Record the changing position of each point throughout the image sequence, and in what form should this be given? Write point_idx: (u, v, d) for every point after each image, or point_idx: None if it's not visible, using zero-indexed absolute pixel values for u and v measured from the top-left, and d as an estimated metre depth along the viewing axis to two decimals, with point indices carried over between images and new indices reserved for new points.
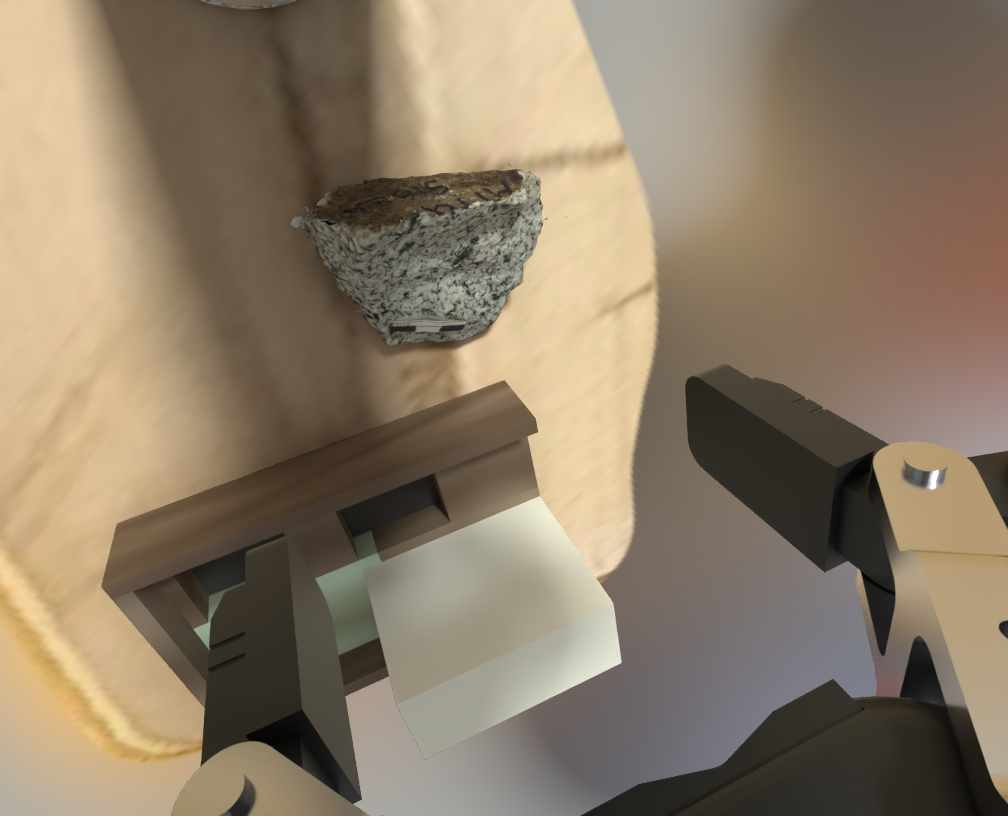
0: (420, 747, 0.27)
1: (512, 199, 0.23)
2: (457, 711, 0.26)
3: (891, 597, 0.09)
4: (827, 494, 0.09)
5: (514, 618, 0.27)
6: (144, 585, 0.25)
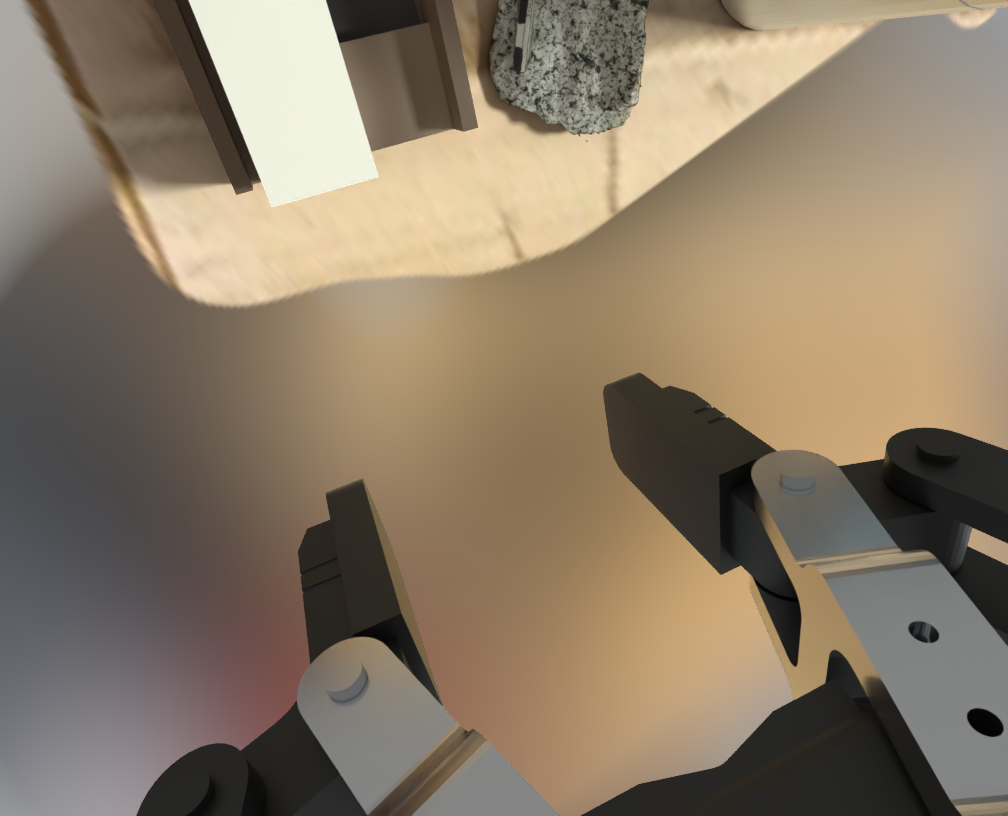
0: None
1: (635, 90, 0.34)
2: None
3: (787, 603, 0.09)
4: (715, 500, 0.10)
5: None
6: None
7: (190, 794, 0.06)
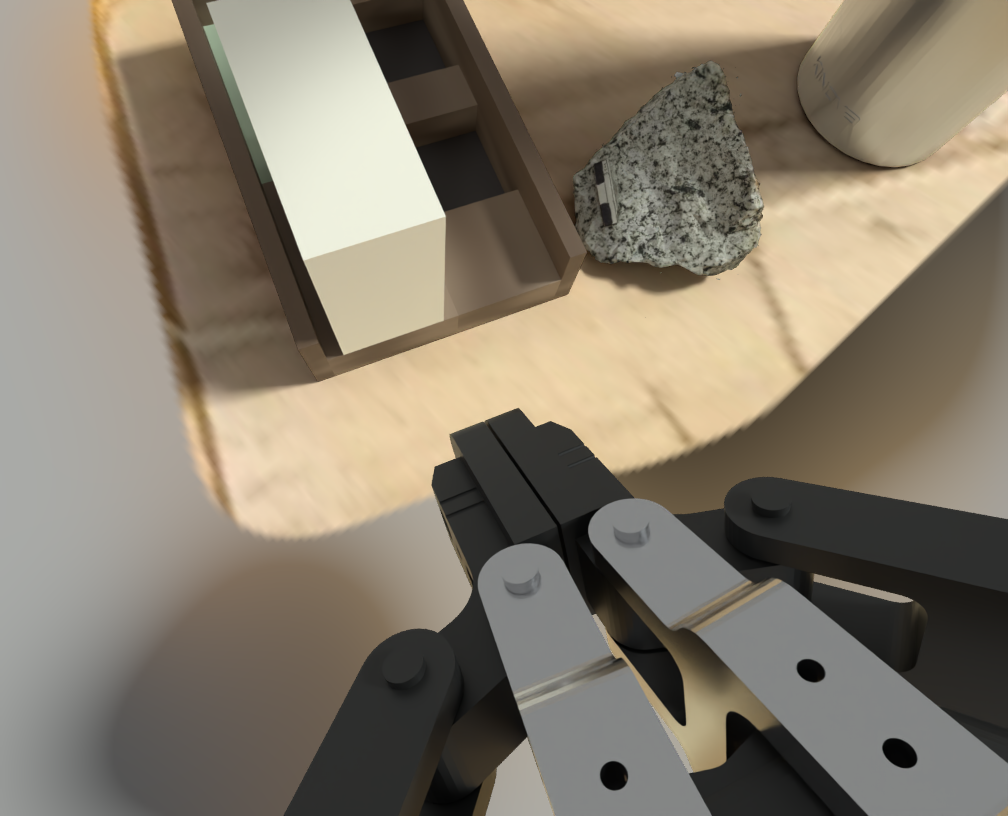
0: None
1: (754, 192, 0.27)
2: (293, 36, 0.20)
3: (652, 656, 0.09)
4: (564, 548, 0.09)
5: None
6: None
7: (406, 666, 0.07)
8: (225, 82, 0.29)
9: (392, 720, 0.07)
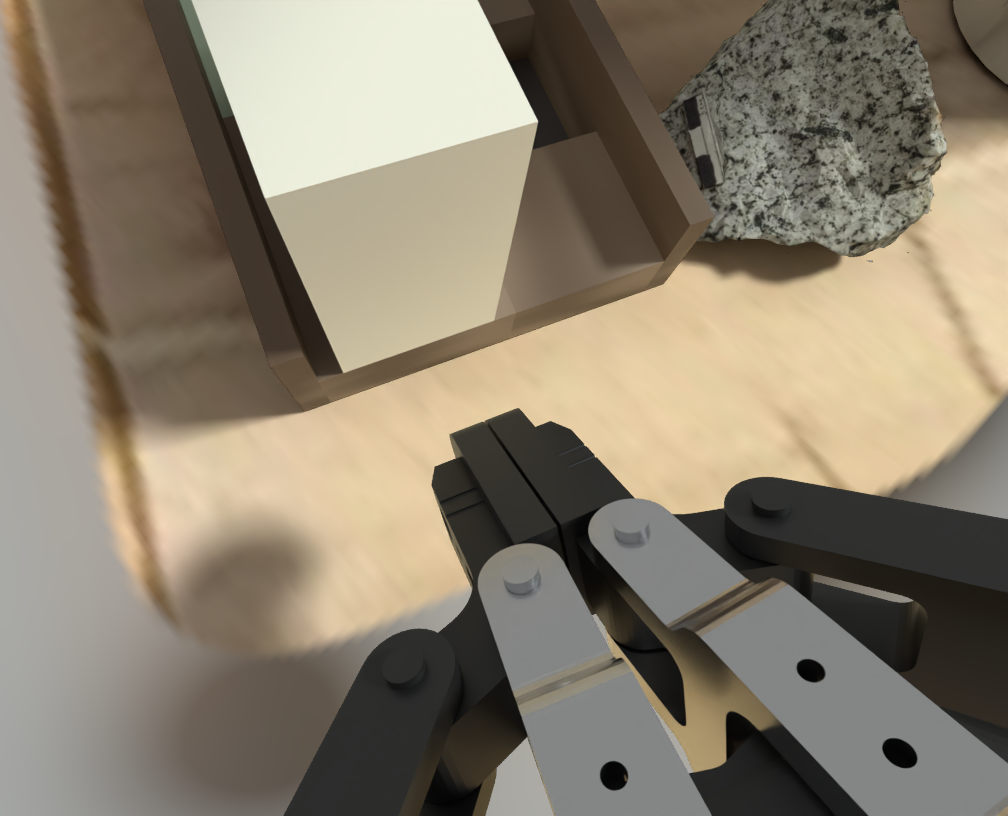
0: None
1: (935, 129, 0.19)
2: None
3: (652, 655, 0.09)
4: (564, 548, 0.09)
5: None
6: None
7: (405, 667, 0.07)
8: None
9: (392, 720, 0.07)
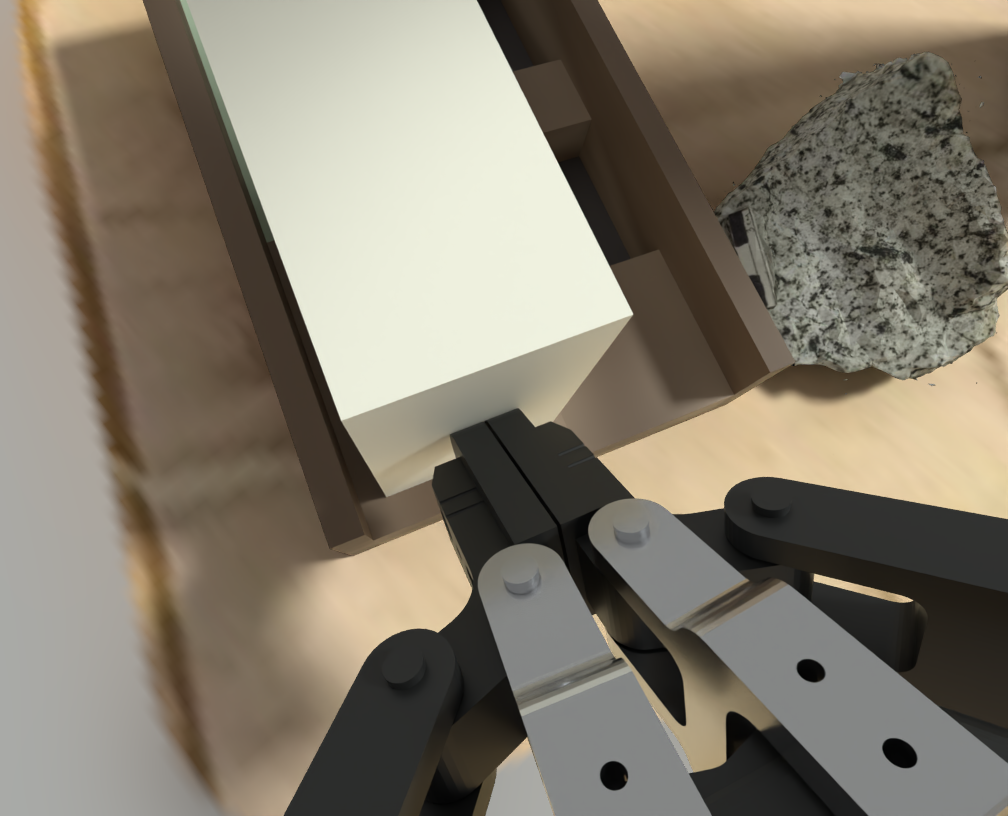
0: None
1: (1005, 256, 0.17)
2: None
3: (652, 655, 0.09)
4: (564, 547, 0.09)
5: None
6: None
7: (406, 666, 0.07)
8: (211, 83, 0.19)
9: (392, 720, 0.07)
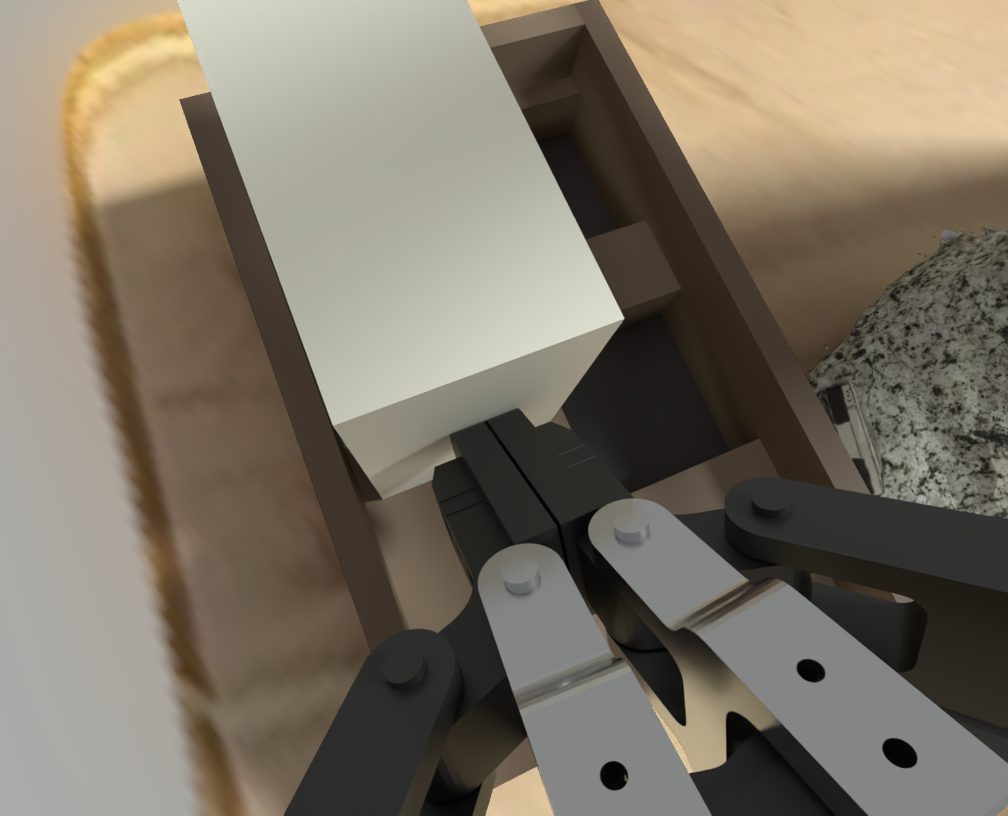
0: None
1: None
2: None
3: (652, 655, 0.09)
4: (564, 547, 0.09)
5: None
6: (593, 36, 0.18)
7: (406, 667, 0.07)
8: None
9: (392, 720, 0.07)
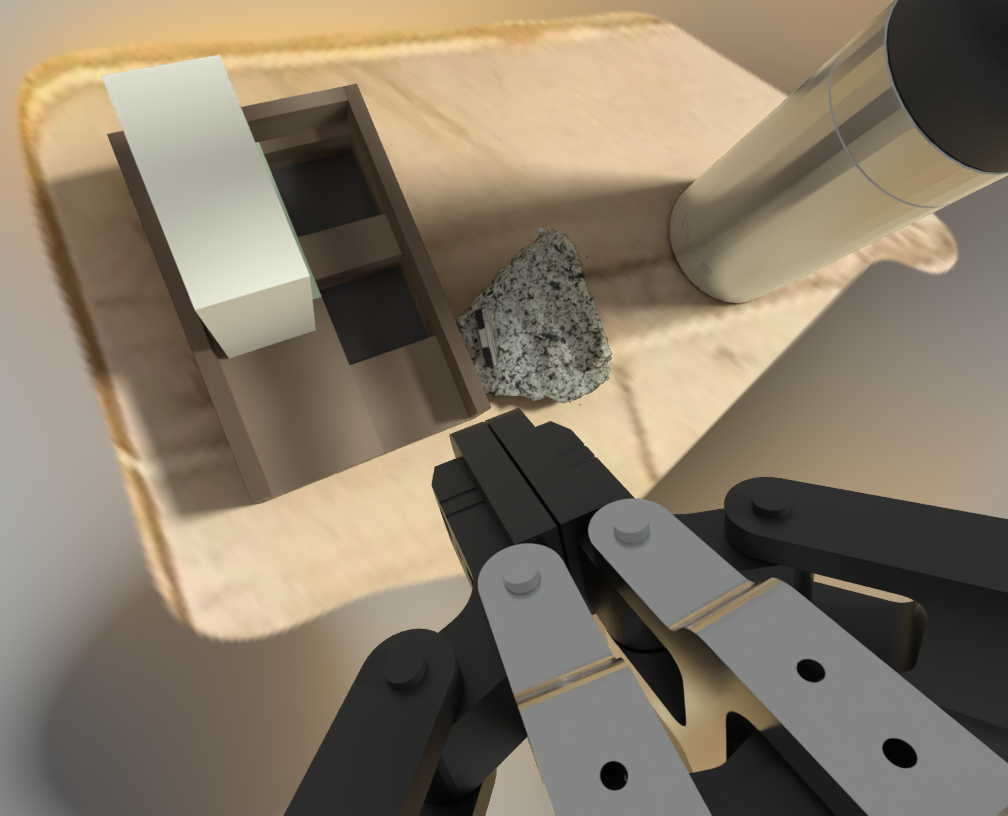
0: (129, 72, 0.24)
1: (604, 344, 0.34)
2: (180, 112, 0.24)
3: (652, 656, 0.09)
4: (564, 548, 0.09)
5: None
6: (352, 108, 0.33)
7: (405, 666, 0.07)
8: None
9: (392, 720, 0.07)
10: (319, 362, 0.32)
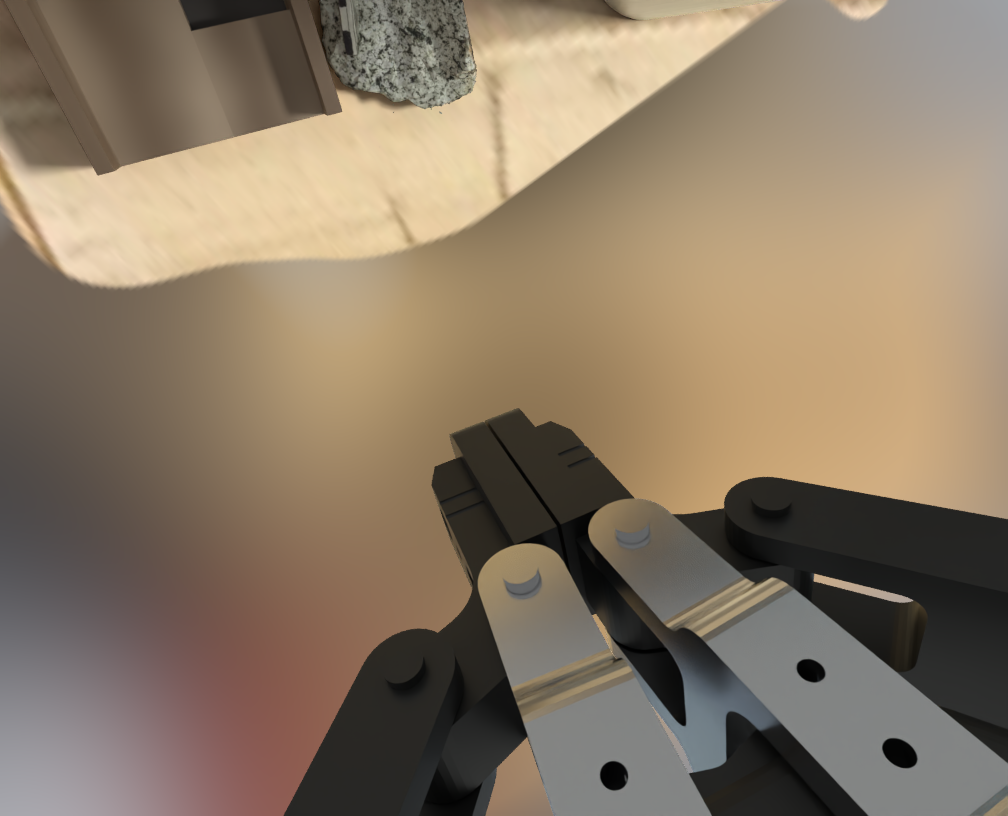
0: None
1: (468, 56, 0.33)
2: None
3: (652, 656, 0.09)
4: (564, 547, 0.09)
5: None
6: None
7: (406, 667, 0.07)
8: None
9: (392, 720, 0.07)
10: (155, 21, 0.30)
